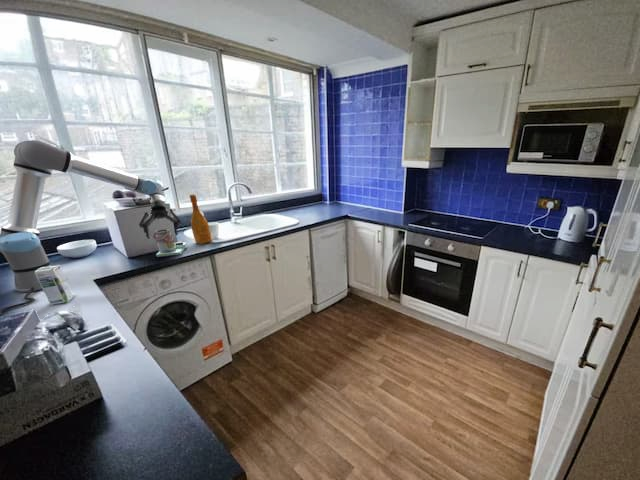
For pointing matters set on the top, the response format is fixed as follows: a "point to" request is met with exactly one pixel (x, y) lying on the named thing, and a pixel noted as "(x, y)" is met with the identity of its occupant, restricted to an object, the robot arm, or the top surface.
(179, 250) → the scale
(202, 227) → the wine bottle
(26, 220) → the robot arm
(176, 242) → the tare button
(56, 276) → the syrup box
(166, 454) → the top surface
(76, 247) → the cereal bowl
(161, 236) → the glass clasp jar
